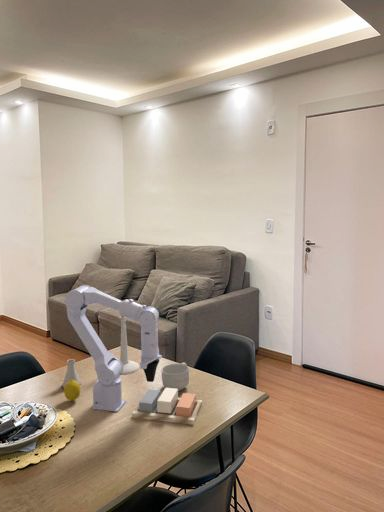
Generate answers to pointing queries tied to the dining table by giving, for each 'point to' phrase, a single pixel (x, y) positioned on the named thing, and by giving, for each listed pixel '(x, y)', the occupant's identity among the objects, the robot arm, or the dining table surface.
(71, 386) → the lemon
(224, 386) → the dining table surface
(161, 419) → the wooden tray
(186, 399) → the terracotta key
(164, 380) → the teacup
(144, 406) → the grey rectangular block
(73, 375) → the flask
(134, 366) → the candlestick
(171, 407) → the ivory key
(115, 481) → the dining table surface
